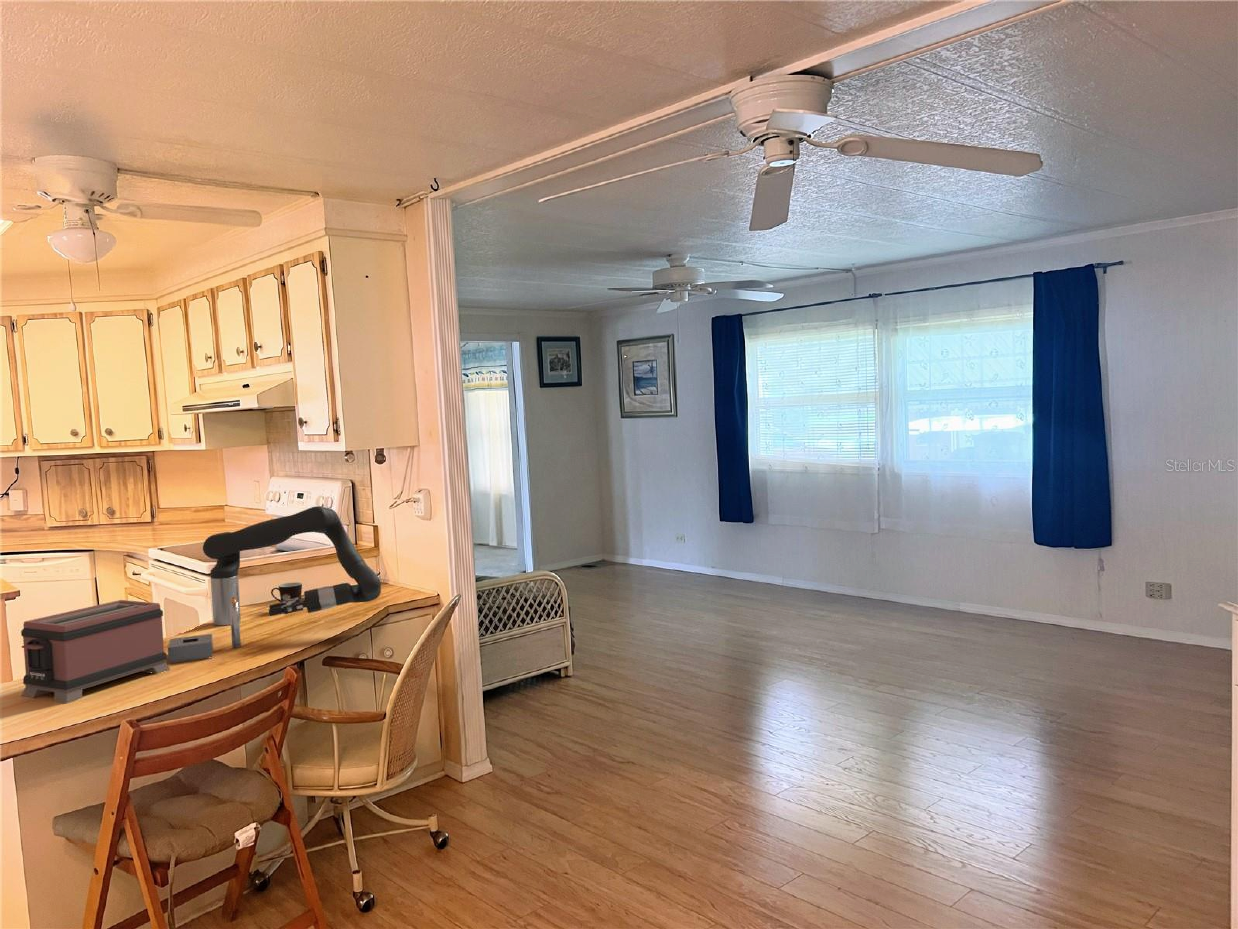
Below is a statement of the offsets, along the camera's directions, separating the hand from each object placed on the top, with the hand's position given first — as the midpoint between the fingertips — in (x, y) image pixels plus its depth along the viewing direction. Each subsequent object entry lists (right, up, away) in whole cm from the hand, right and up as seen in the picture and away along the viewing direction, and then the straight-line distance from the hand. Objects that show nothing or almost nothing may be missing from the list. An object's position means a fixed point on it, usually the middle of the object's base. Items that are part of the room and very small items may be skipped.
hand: (269, 610), depth 279 cm
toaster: (-34, -15, -38) cm, 53 cm away
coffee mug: (-13, -9, +51) cm, 54 cm away
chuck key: (-9, -11, -3) cm, 15 cm away
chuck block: (-20, -12, -12) cm, 26 cm away
